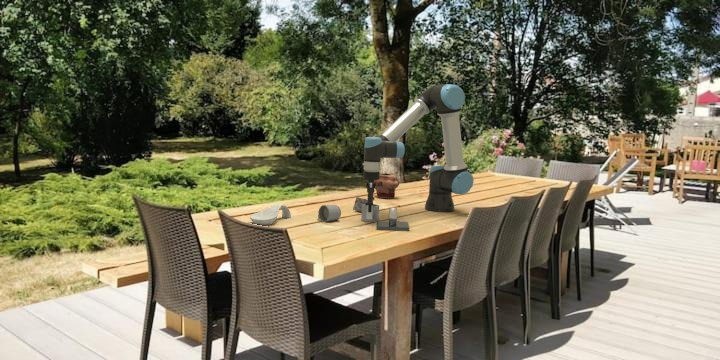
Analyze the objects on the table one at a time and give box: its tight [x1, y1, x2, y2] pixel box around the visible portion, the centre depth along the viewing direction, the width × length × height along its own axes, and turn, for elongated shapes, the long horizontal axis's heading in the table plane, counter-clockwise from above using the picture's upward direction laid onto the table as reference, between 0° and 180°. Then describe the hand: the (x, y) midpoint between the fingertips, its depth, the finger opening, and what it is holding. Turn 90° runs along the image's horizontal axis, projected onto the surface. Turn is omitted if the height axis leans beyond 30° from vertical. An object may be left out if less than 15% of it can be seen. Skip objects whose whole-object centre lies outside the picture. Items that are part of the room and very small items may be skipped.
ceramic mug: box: [317, 204, 342, 223], centre depth 259 cm, size 11×8×8 cm
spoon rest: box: [249, 203, 292, 226], centre depth 252 cm, size 24×12×7 cm, turn 153°
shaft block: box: [376, 207, 410, 232], centre depth 248 cm, size 14×12×8 cm
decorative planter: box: [374, 172, 400, 199], centre depth 329 cm, size 20×12×14 cm, turn 58°
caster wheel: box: [352, 196, 368, 213], centre depth 284 cm, size 7×11×10 cm
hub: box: [360, 203, 380, 223], centre depth 262 cm, size 8×8×7 cm
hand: (369, 216), depth 262 cm, fingers open, 13 cm apart
